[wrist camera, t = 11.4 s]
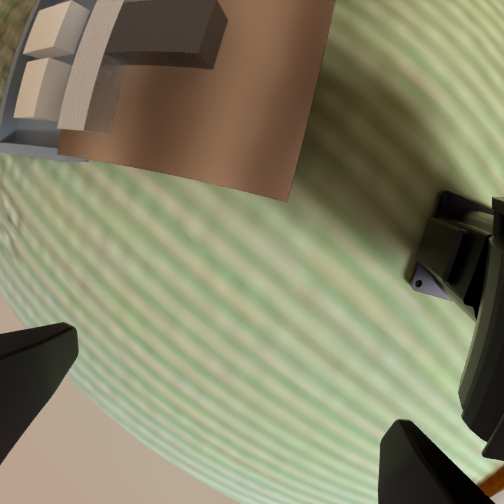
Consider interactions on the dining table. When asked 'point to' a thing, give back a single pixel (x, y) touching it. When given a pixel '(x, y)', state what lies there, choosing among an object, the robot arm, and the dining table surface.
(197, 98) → the plate
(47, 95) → the tile
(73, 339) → the robot arm
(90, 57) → the scraper
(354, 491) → the dining table surface
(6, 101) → the box
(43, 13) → the tile
